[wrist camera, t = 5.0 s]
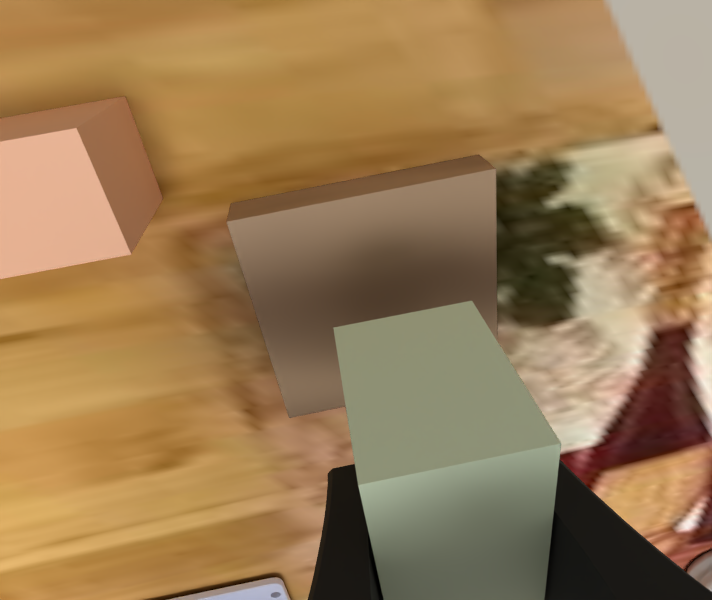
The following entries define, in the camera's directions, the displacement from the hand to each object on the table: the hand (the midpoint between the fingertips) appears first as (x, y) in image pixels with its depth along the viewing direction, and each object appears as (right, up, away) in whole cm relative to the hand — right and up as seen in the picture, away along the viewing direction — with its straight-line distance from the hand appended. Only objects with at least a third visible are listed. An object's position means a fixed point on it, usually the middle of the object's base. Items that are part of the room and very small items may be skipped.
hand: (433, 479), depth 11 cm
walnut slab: (-1, +5, +8) cm, 9 cm away
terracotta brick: (-11, +8, +4) cm, 14 cm away
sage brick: (0, +1, +1) cm, 2 cm away
